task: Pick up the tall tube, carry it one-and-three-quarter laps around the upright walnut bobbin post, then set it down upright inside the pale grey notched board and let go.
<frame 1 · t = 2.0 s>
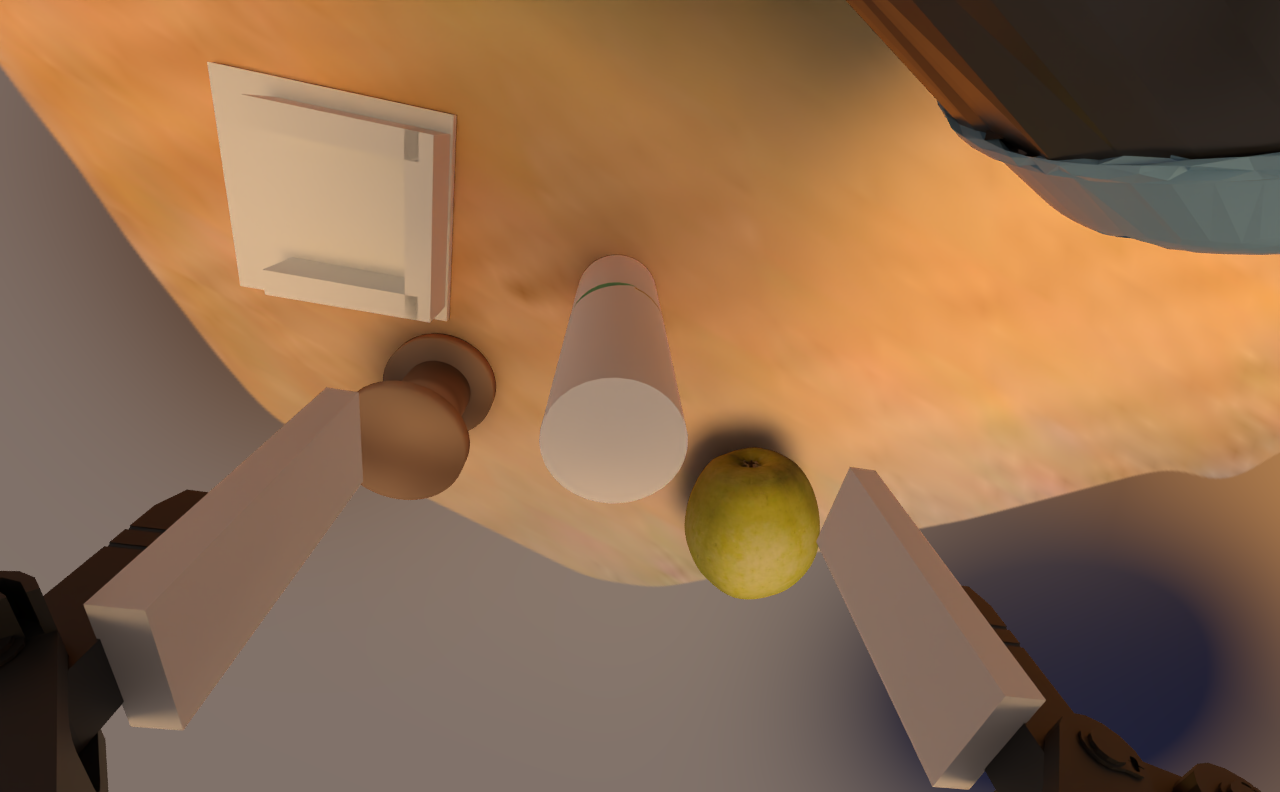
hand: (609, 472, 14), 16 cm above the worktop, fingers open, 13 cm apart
bobbin post: (443, 382, 31), on the worktop
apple: (736, 480, 35), on the worktop
tube: (617, 293, 29), on the worktop
notch board: (345, 204, 26), on the worktop
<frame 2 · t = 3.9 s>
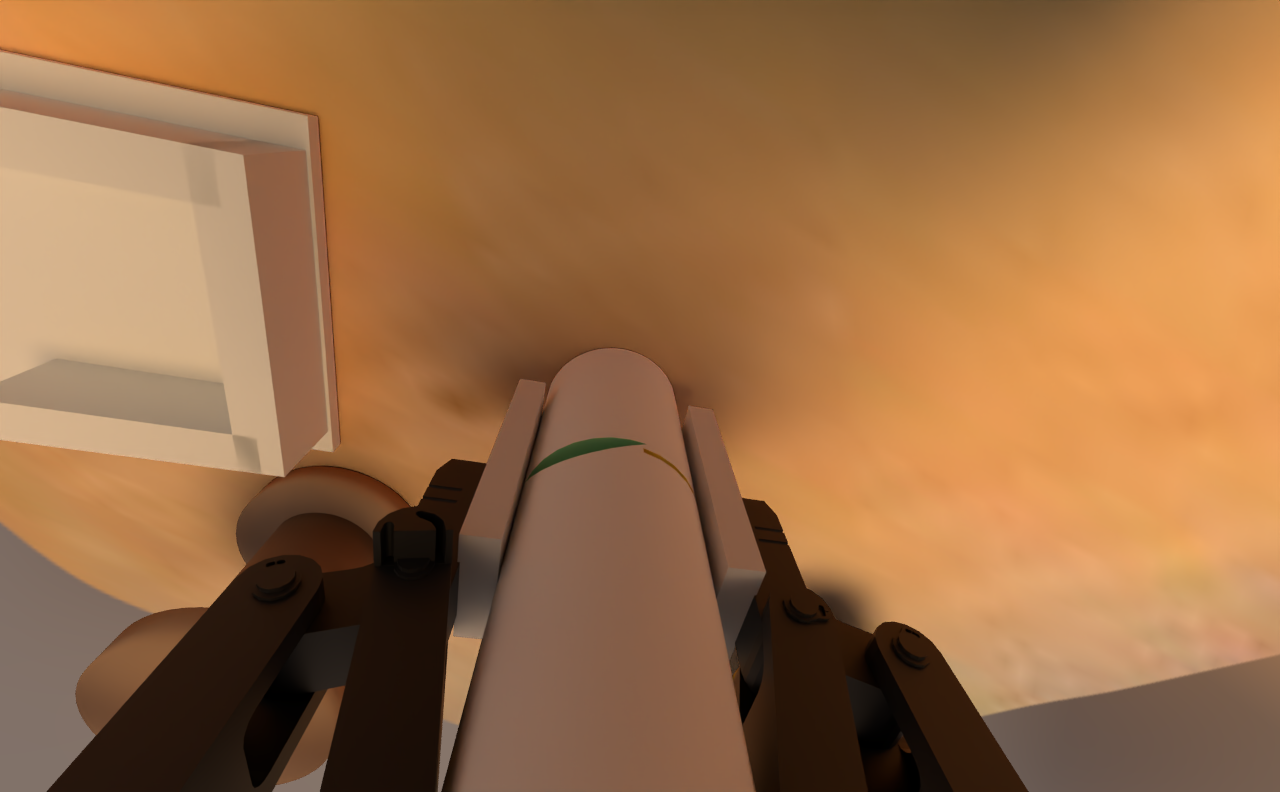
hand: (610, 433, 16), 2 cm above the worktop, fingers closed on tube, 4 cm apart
bobbin post: (340, 533, 20), on the worktop
tube: (611, 404, 18), on the worktop, touching gripper
notch board: (139, 270, 15), on the worktop
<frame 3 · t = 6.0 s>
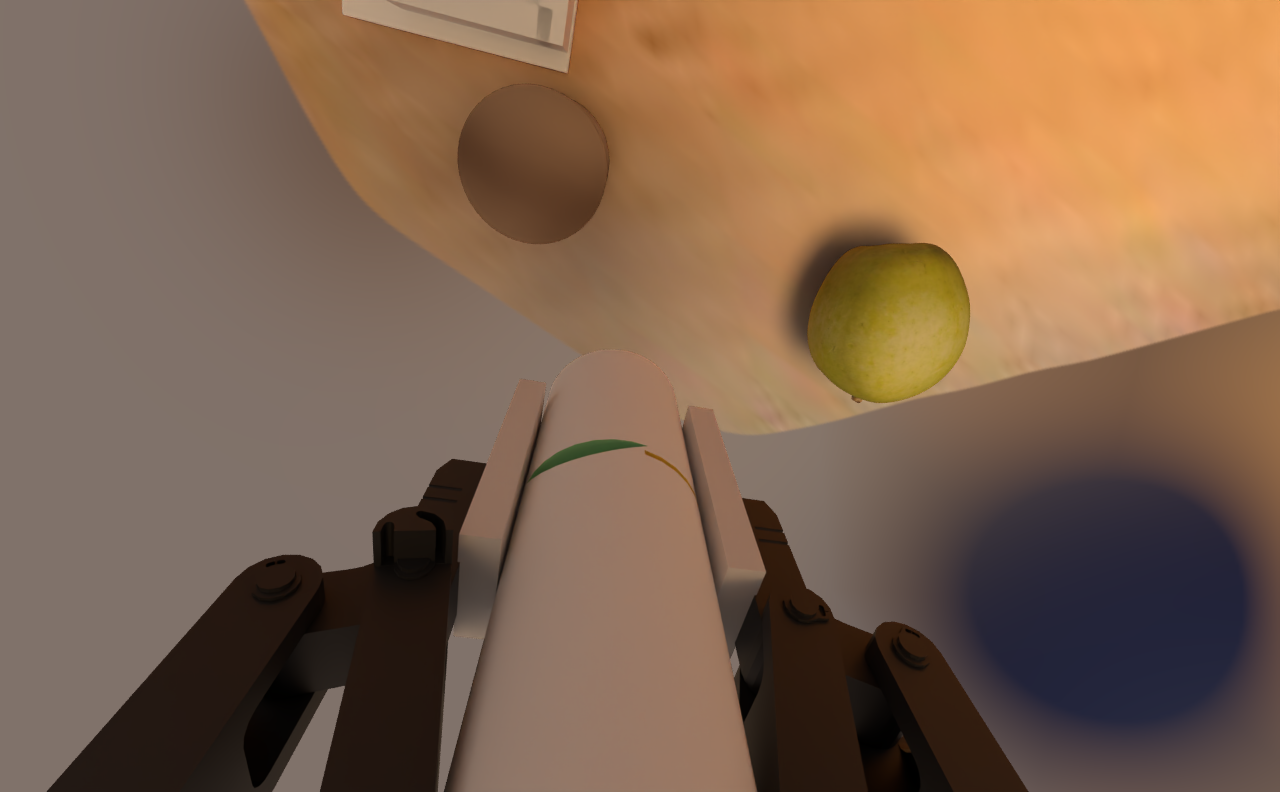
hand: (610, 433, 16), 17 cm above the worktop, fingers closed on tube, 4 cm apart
bobbin post: (552, 159, 28), on the worktop
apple: (852, 302, 32), on the worktop
tube: (612, 406, 18), point 15 cm above the worktop, touching gripper
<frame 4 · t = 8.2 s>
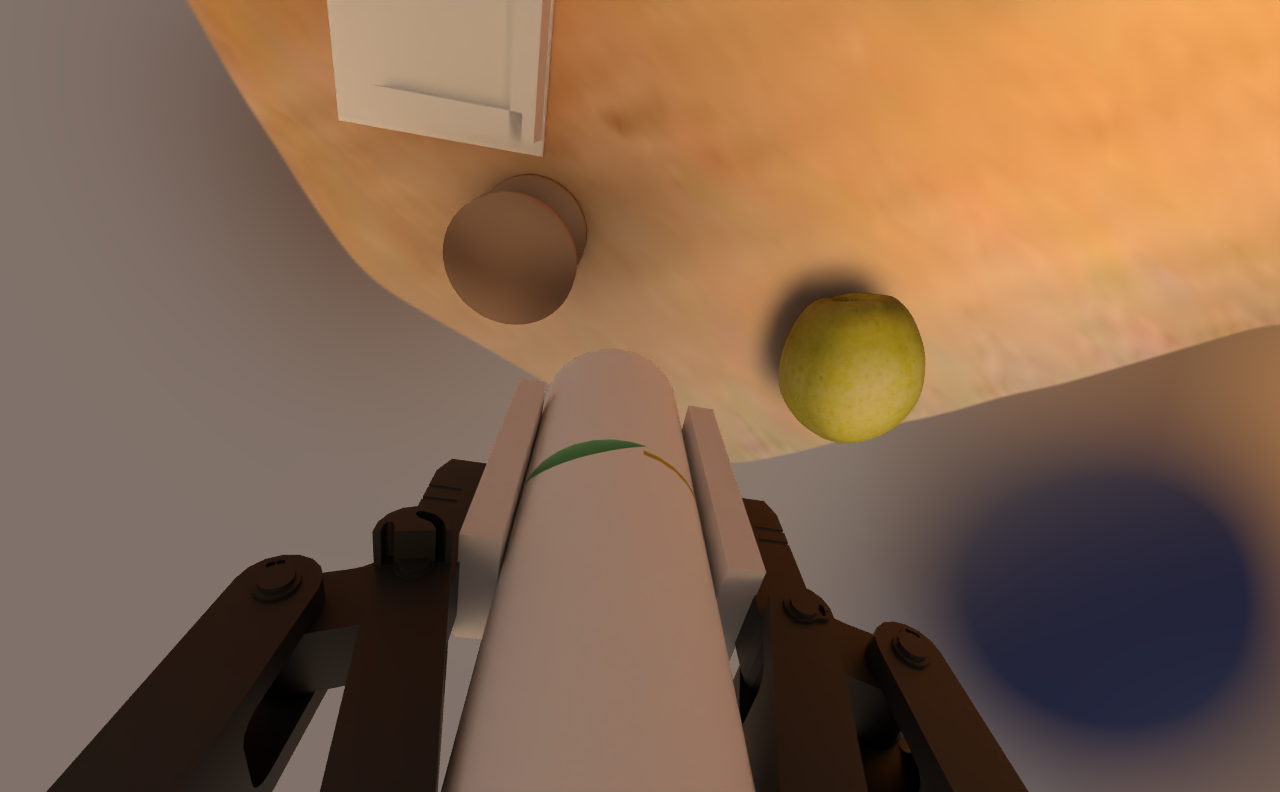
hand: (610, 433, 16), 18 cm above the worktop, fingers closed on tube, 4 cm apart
bobbin post: (534, 230, 30), on the worktop
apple: (825, 341, 34), on the worktop
tube: (611, 406, 18), point 16 cm above the worktop, touching gripper
notch board: (443, 25, 25), on the worktop
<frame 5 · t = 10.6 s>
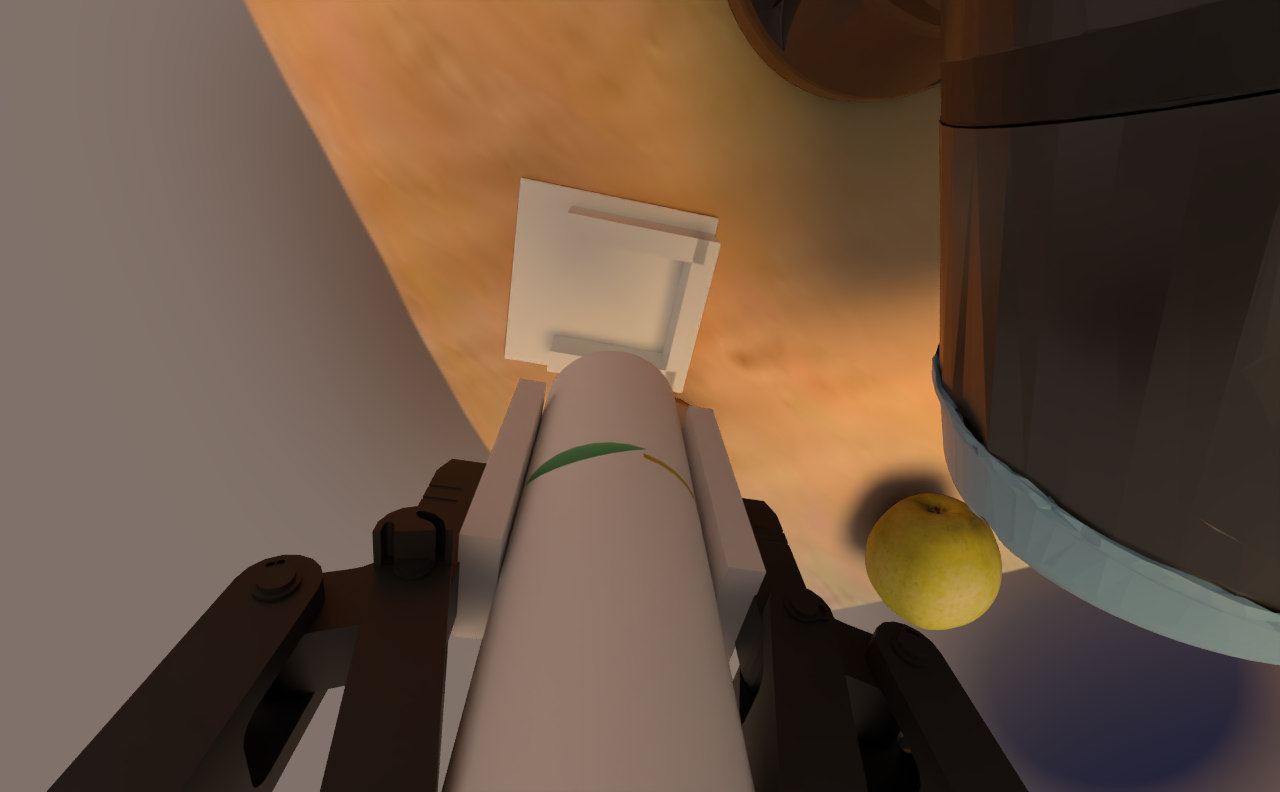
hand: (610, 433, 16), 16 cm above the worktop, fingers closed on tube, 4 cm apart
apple: (899, 519, 39), on the worktop
tube: (611, 407, 18), point 14 cm above the worktop, touching gripper
notch board: (606, 289, 30), on the worktop
when the fingers open (4 cm above the worktop, at t = 12.7 s): tube drops 2 cm, resting on notch board.
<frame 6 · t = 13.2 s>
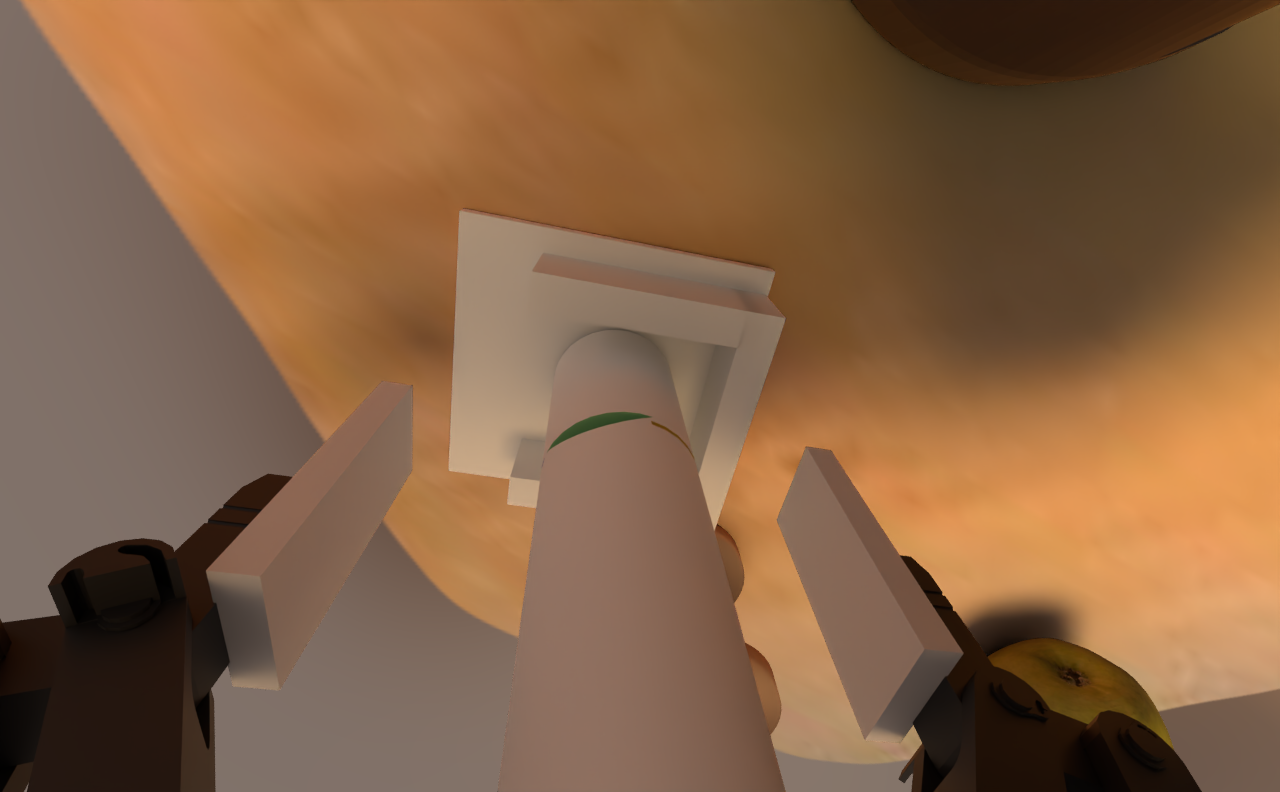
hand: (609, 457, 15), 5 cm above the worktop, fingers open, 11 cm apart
bobbin post: (674, 565, 24), on the worktop
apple: (998, 658, 29), on the worktop
tube: (612, 381, 19), resting on notch board
notch board: (599, 374, 20), on the worktop
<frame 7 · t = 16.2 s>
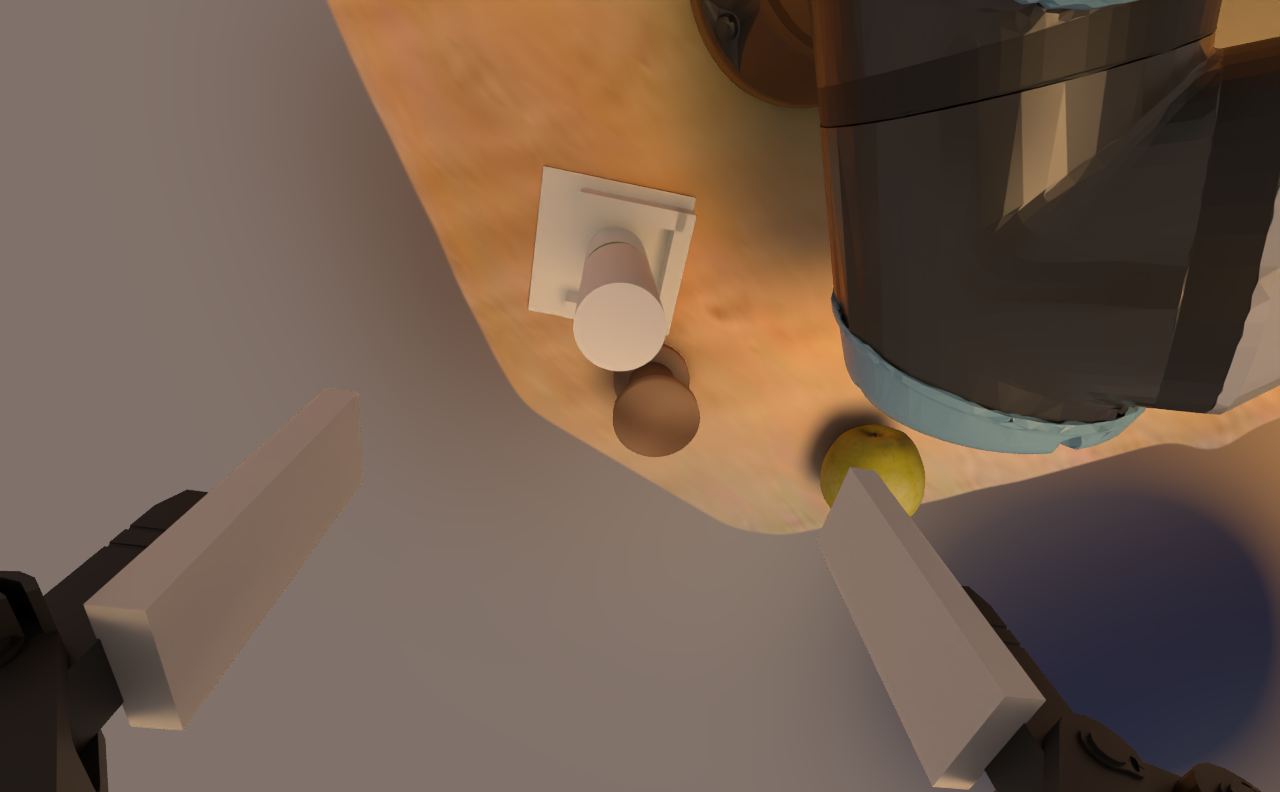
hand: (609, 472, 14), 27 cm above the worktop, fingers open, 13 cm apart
bobbin post: (651, 377, 42), on the worktop
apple: (850, 450, 47), on the worktop
tube: (616, 257, 38), resting on notch board
notch board: (608, 255, 38), on the worktop
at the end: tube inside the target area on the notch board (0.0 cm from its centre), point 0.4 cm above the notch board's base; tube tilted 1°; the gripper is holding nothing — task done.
